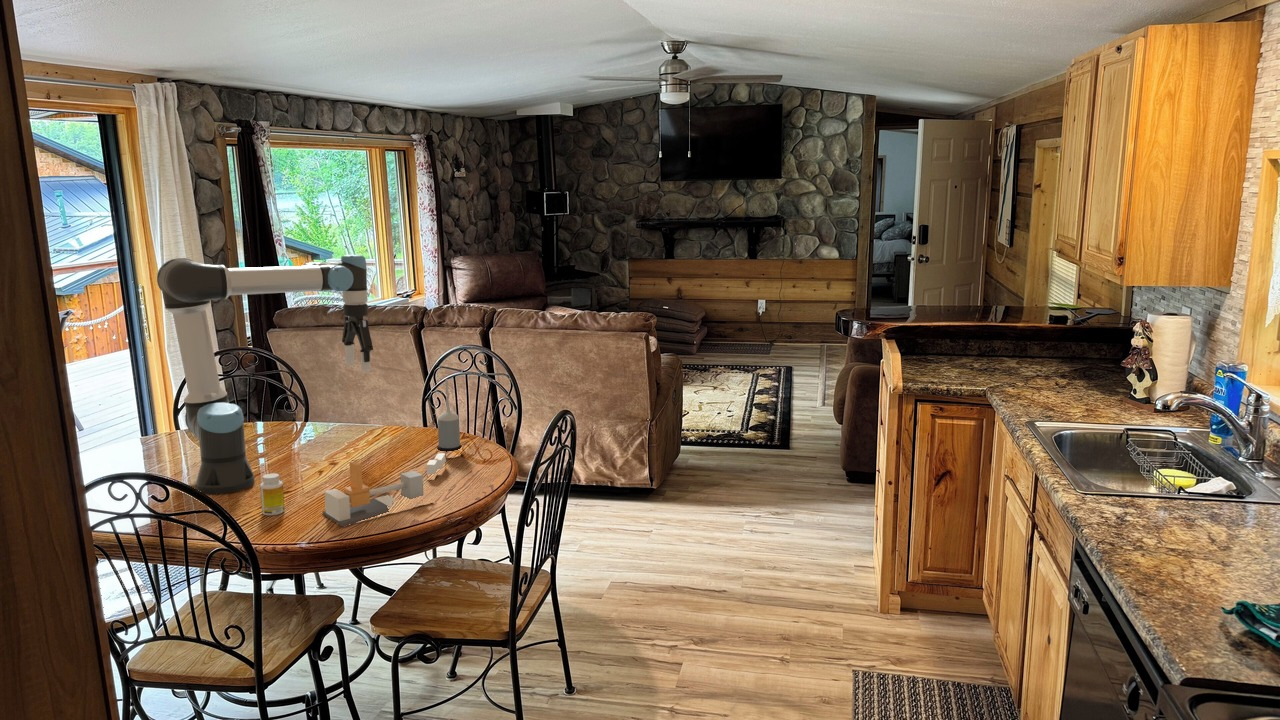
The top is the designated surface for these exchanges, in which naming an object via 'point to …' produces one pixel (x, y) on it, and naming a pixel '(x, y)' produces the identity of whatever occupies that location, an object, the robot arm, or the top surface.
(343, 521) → the grey slider rail base
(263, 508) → the supplement bottle
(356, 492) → the orange rod slider
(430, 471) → the white blocky piece
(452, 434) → the grey bottle
